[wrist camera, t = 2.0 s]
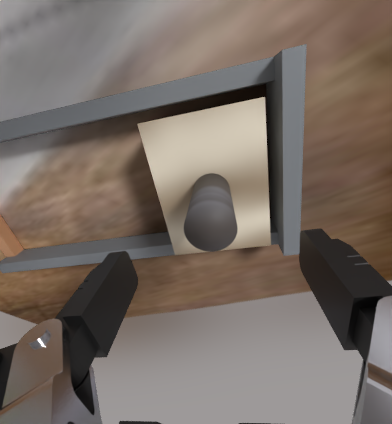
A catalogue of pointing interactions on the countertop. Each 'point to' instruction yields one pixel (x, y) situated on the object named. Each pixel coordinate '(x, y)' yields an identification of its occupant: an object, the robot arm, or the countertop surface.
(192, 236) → the beige block
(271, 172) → the frame
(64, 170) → the countertop surface
